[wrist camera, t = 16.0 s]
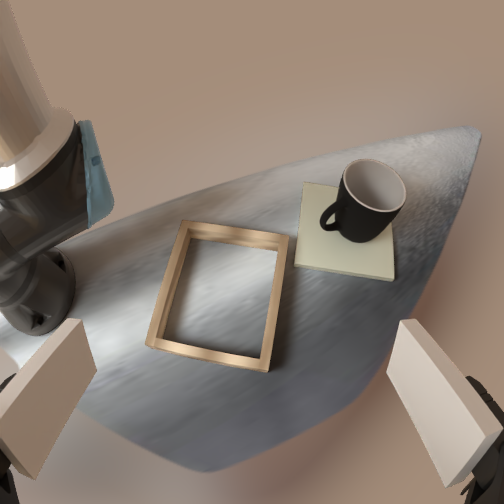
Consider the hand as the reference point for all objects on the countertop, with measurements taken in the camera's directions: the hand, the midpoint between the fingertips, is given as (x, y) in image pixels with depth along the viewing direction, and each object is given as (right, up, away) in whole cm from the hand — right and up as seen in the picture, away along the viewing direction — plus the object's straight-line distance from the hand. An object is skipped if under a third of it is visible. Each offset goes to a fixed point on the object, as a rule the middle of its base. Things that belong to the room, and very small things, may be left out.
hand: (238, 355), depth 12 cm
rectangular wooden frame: (-4, -2, +30) cm, 30 cm away
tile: (+15, +7, +35) cm, 39 cm away
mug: (+15, +7, +34) cm, 38 cm away
